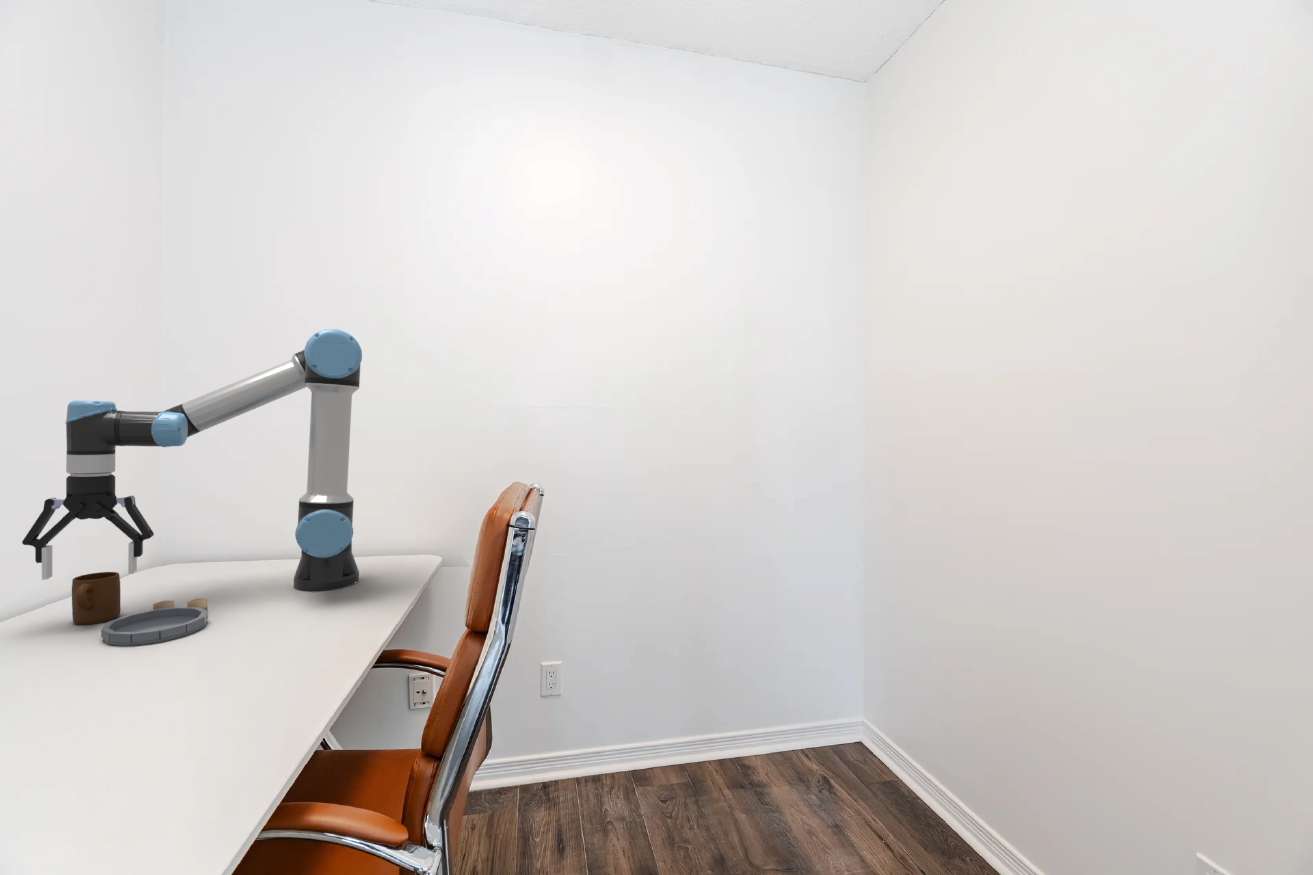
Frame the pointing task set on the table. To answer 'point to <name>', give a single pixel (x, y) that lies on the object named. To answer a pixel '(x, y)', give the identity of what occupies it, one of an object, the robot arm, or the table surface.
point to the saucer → (154, 626)
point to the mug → (95, 598)
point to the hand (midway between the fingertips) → (90, 575)
